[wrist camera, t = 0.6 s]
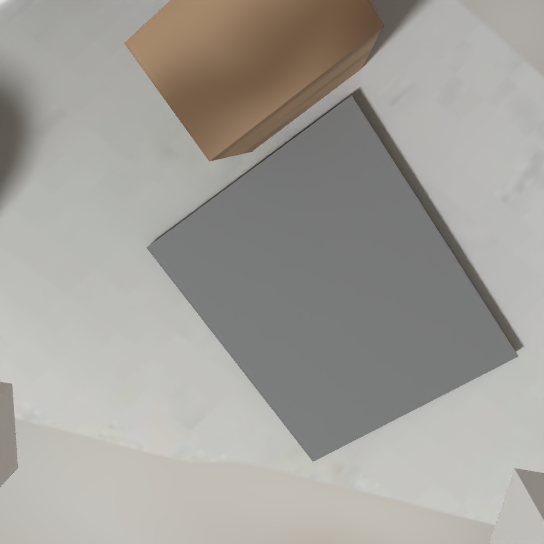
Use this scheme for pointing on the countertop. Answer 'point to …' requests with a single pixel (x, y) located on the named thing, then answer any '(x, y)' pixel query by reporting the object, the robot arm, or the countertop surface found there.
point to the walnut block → (251, 63)
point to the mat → (333, 286)
